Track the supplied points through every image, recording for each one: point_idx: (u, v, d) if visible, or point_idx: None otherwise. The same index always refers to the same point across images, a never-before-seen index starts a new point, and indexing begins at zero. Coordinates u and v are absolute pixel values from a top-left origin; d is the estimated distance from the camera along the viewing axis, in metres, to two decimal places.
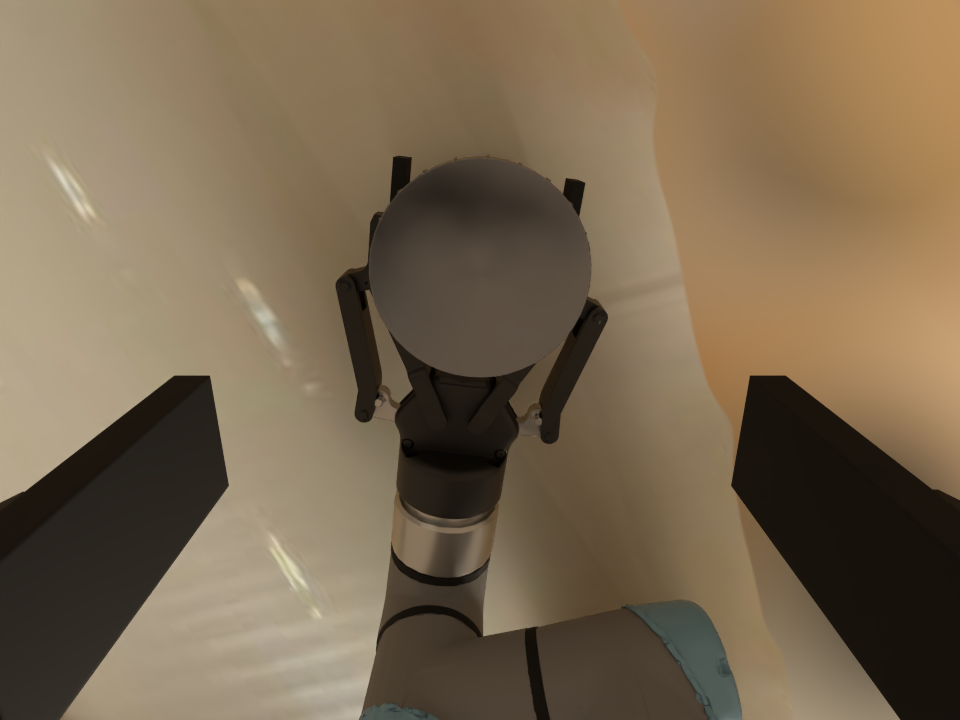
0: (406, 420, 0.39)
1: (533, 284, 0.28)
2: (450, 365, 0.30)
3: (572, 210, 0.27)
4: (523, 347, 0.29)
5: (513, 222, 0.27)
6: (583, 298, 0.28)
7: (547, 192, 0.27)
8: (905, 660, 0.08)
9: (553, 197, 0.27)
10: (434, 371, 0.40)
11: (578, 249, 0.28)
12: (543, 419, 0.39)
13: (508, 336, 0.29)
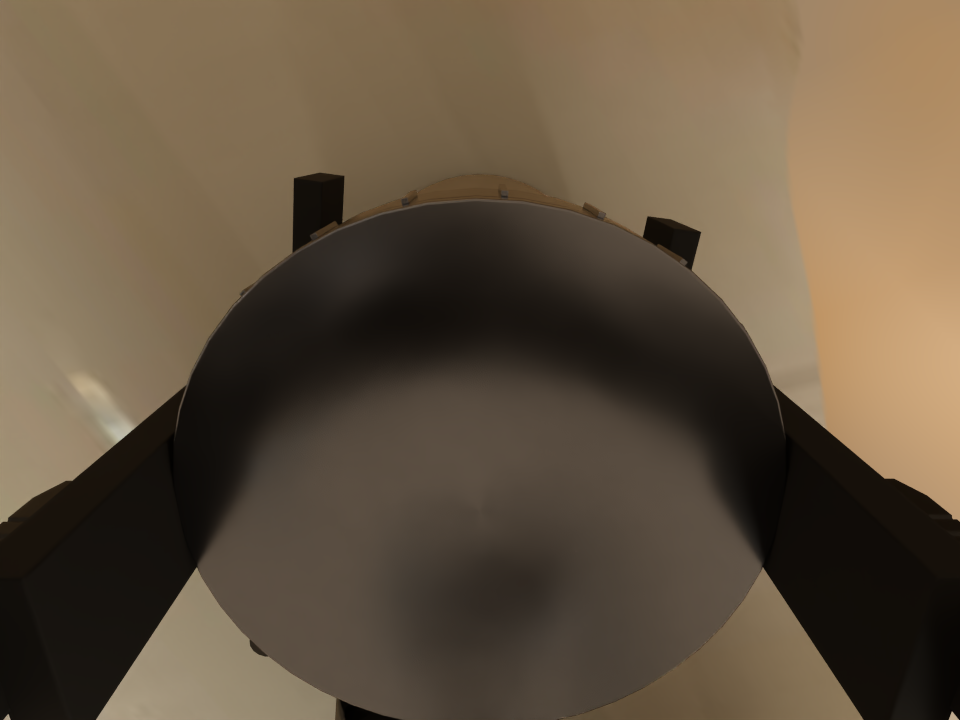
0: None
1: (624, 533, 0.10)
2: (406, 705, 0.12)
3: (750, 350, 0.09)
4: (588, 669, 0.12)
5: (576, 381, 0.09)
6: (755, 564, 0.11)
7: (681, 300, 0.09)
8: (854, 641, 0.08)
9: (697, 314, 0.09)
10: None
11: (756, 450, 0.10)
12: None
13: (552, 647, 0.11)
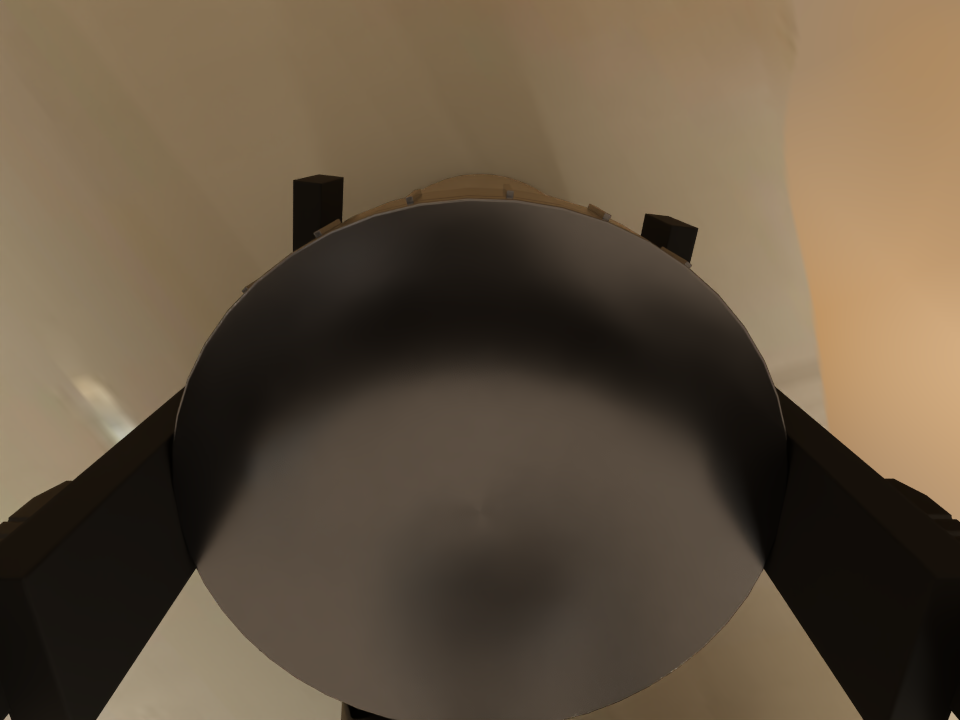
0: None
1: (442, 377, 0.09)
2: (762, 487, 0.10)
3: (197, 369, 0.09)
4: (642, 323, 0.09)
5: (312, 491, 0.10)
6: (414, 215, 0.09)
7: (197, 446, 0.10)
8: (853, 640, 0.08)
9: (199, 428, 0.10)
10: None
11: (284, 303, 0.09)
12: None
13: (622, 377, 0.09)
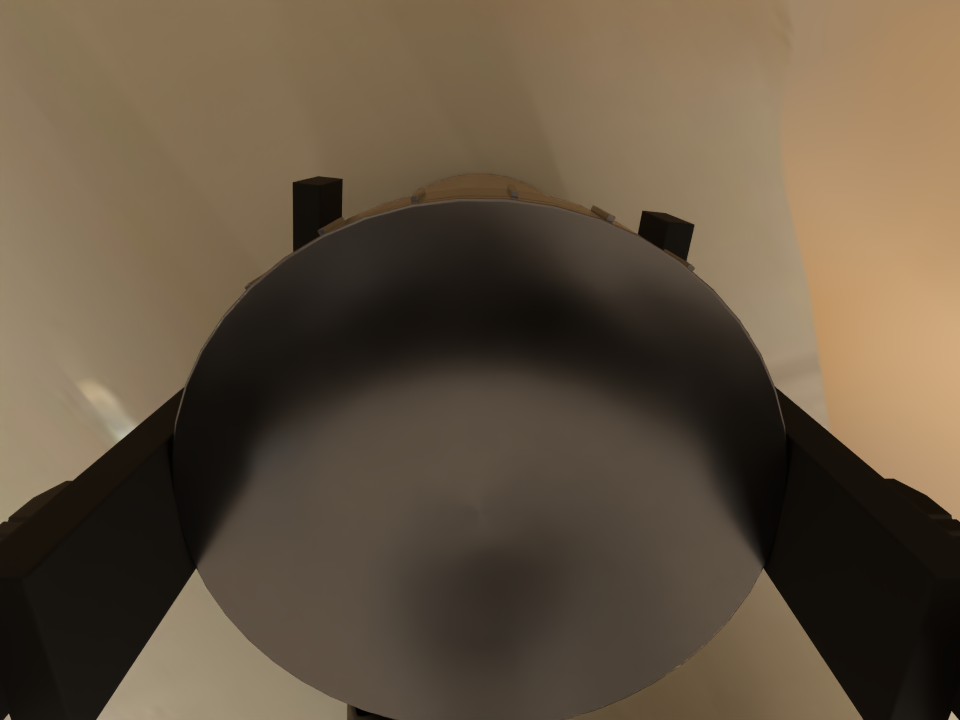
0: None
1: (366, 584, 0.11)
2: (319, 272, 0.09)
3: None
4: (234, 466, 0.10)
5: (519, 636, 0.11)
6: (258, 639, 0.11)
7: (515, 713, 0.12)
8: (853, 641, 0.08)
9: (498, 715, 0.12)
10: None
11: (367, 692, 0.12)
12: None
13: (287, 459, 0.10)
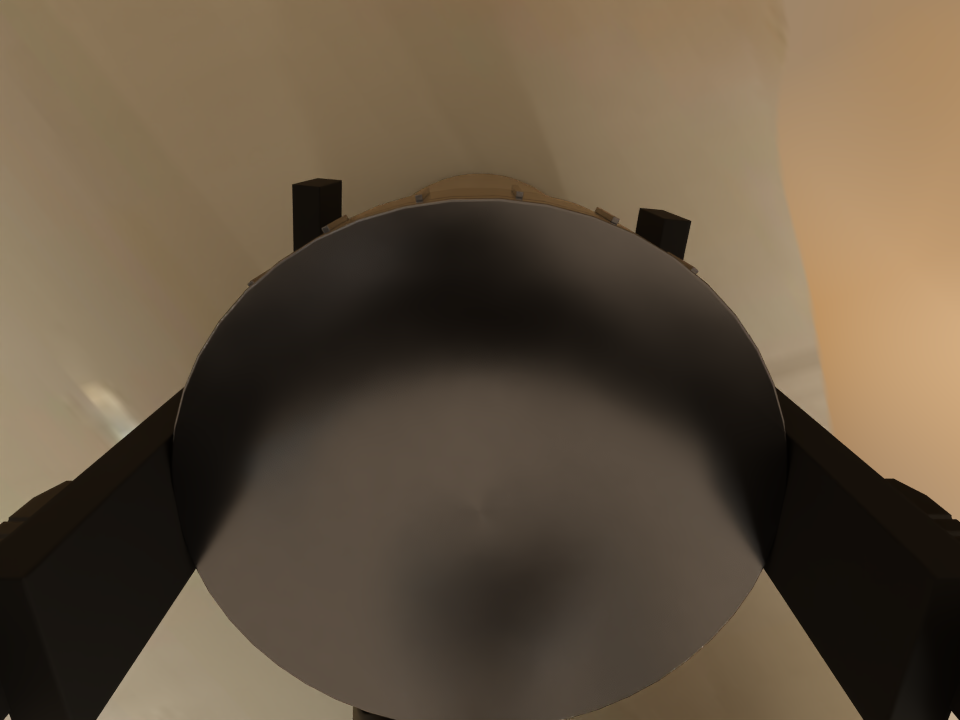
0: None
1: (605, 571, 0.11)
2: (332, 679, 0.12)
3: (781, 437, 0.10)
4: (522, 689, 0.12)
5: (617, 417, 0.10)
6: (708, 631, 0.11)
7: (739, 372, 0.09)
8: (853, 640, 0.08)
9: (748, 390, 0.09)
10: None
11: (750, 528, 0.10)
12: None
13: (497, 659, 0.11)
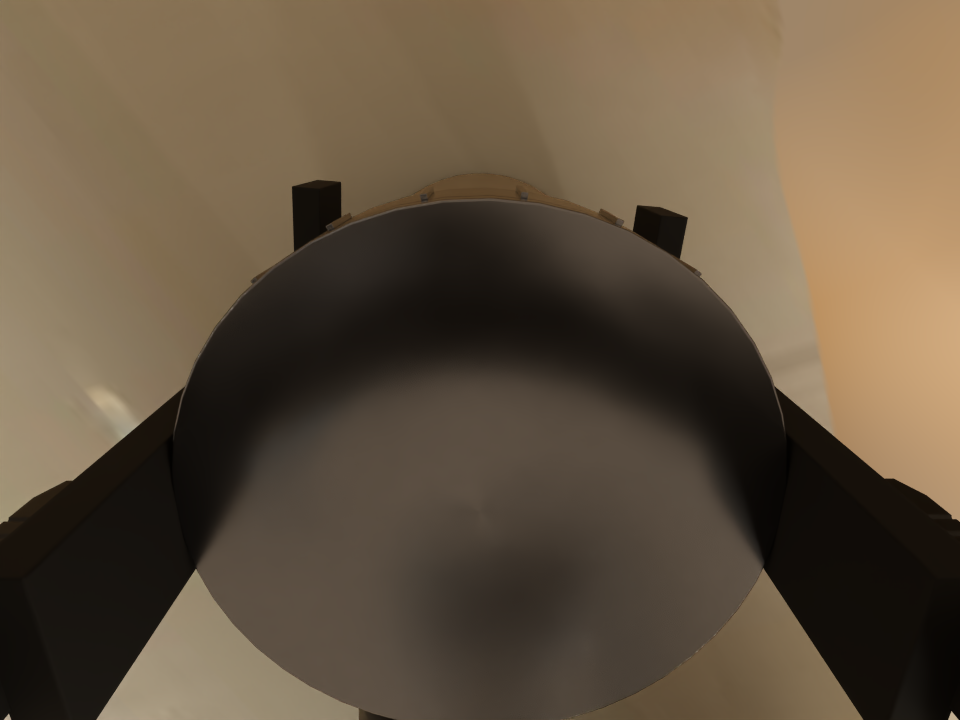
0: None
1: (495, 373, 0.09)
2: (742, 562, 0.11)
3: (256, 289, 0.09)
4: (696, 382, 0.09)
5: (324, 444, 0.10)
6: (530, 212, 0.09)
7: (224, 365, 0.09)
8: (853, 641, 0.08)
9: (233, 347, 0.09)
10: None
11: (371, 253, 0.09)
12: None
13: (659, 425, 0.10)
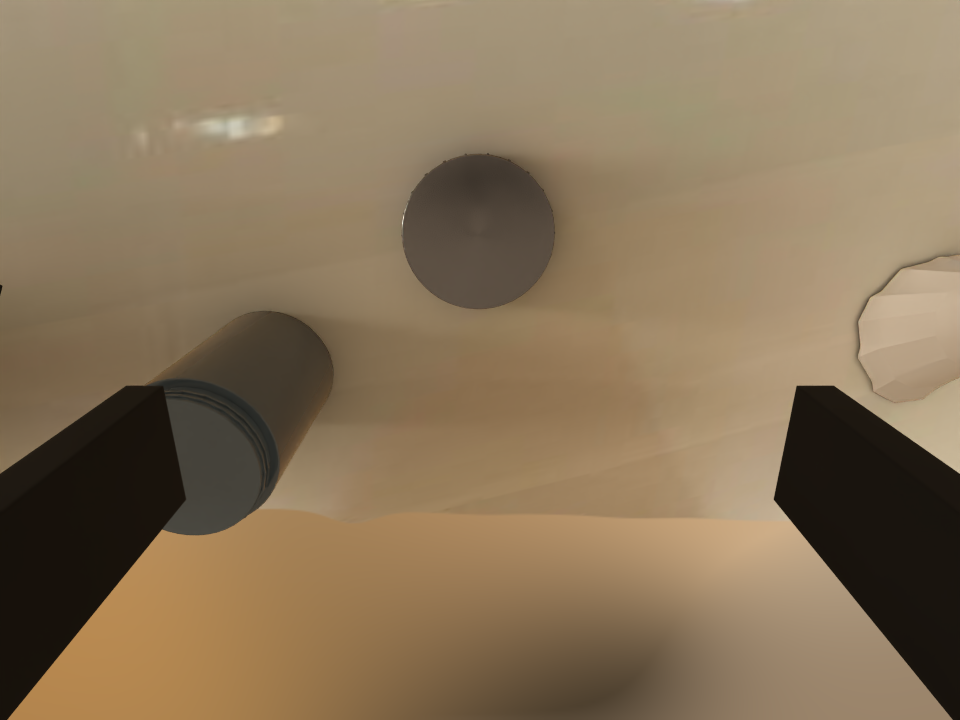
0: None
1: (481, 196, 0.40)
2: (545, 250, 0.41)
3: (428, 175, 0.39)
4: (529, 199, 0.40)
5: (440, 215, 0.40)
6: (488, 157, 0.39)
7: (418, 194, 0.40)
8: None
9: (421, 190, 0.40)
10: None
11: (454, 167, 0.39)
12: None
13: (521, 210, 0.40)
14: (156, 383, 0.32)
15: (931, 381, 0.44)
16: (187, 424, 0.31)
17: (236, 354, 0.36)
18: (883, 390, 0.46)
